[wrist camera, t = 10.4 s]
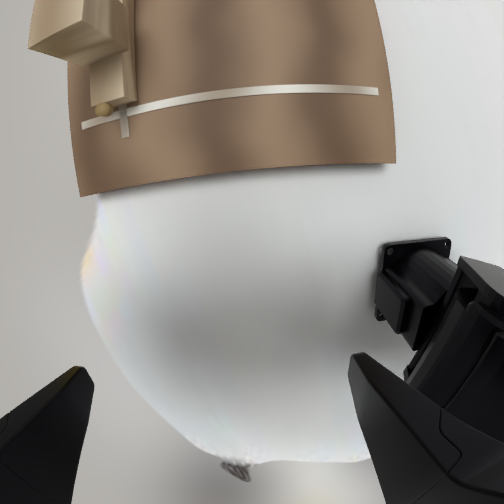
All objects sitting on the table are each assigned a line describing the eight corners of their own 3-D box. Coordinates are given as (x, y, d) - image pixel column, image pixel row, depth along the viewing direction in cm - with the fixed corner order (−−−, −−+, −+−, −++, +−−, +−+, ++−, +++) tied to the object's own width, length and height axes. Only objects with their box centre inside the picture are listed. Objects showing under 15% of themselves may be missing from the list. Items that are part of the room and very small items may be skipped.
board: (356, -15, 12) (366, -27, 10) (382, 160, 17) (396, 163, 15) (83, 18, 12) (70, 10, 10) (94, 191, 18) (79, 197, 16)
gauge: (151, -38, 11) (110, -104, 2) (156, 115, 16) (83, 98, 7) (114, -26, 11) (60, -80, 2) (115, 125, 16) (25, 124, 7)
